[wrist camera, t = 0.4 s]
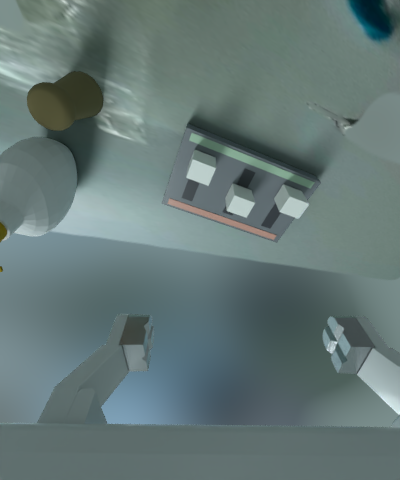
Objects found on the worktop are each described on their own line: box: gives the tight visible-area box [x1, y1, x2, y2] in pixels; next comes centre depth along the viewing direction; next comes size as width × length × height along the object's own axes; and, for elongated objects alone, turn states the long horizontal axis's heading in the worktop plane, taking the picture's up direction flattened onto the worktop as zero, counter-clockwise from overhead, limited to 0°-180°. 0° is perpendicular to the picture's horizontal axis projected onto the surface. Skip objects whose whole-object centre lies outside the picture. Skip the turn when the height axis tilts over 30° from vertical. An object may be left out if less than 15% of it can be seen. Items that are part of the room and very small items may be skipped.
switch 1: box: [186, 149, 216, 186], centre depth 39 cm, size 3×4×4 cm
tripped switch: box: [225, 183, 255, 218], centre depth 42 cm, size 3×4×4 cm
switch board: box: [162, 124, 321, 242], centre depth 45 cm, size 14×24×3 cm, turn 69°
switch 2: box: [274, 184, 309, 219], centre depth 42 cm, size 3×4×4 cm
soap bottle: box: [0, 137, 77, 272], centre depth 35 cm, size 14×9×26 cm, turn 169°
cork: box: [27, 71, 103, 131], centre depth 34 cm, size 6×6×11 cm
